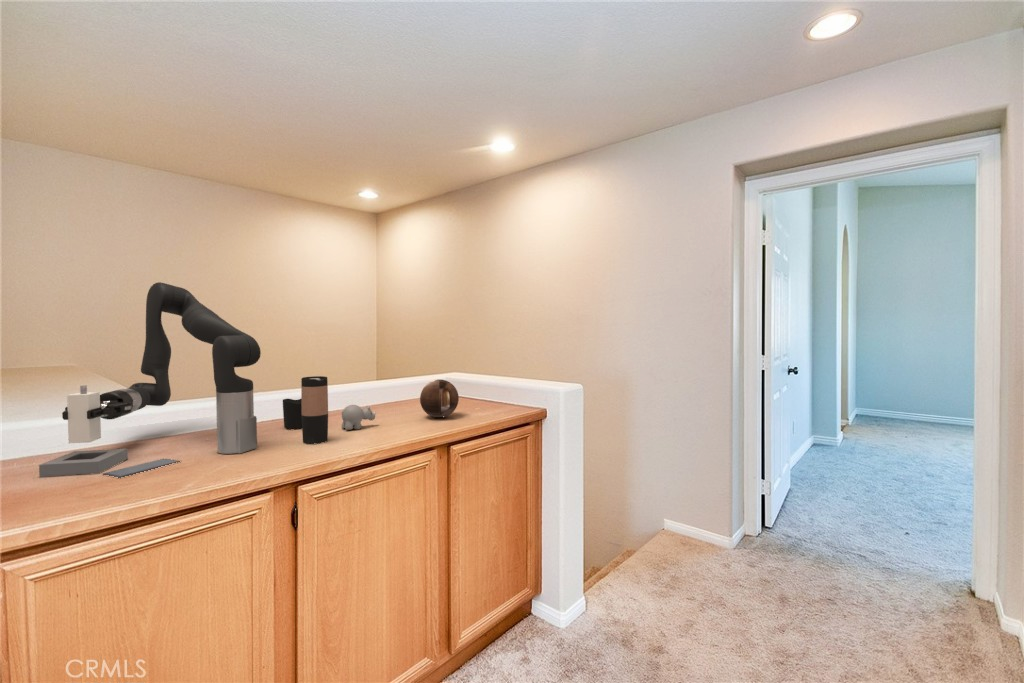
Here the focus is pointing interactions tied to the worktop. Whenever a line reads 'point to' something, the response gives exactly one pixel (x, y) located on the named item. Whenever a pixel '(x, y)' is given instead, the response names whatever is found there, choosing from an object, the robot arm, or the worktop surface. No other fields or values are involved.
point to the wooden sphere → (439, 398)
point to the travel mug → (314, 409)
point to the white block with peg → (83, 416)
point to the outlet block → (83, 462)
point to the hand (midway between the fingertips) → (77, 415)
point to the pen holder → (292, 413)
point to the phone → (140, 468)
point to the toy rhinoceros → (356, 416)
